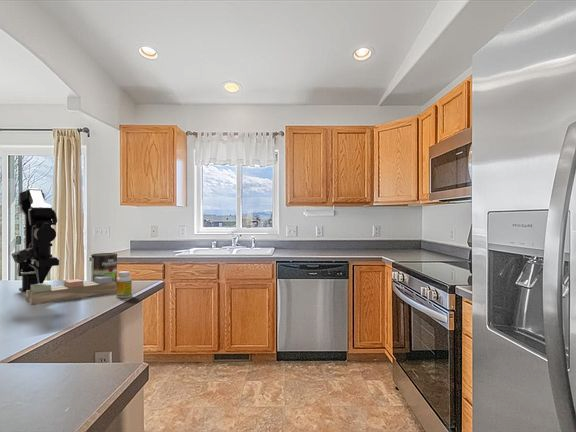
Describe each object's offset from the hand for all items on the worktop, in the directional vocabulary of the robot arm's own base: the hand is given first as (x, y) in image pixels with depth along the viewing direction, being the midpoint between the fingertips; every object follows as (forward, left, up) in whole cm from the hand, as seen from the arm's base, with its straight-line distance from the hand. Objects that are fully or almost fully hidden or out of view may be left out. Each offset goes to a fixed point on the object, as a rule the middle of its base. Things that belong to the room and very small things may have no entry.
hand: (40, 283), depth 132 cm
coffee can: (-11, +27, -7) cm, 30 cm away
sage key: (0, 0, -4) cm, 4 cm away
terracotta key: (0, +11, -5) cm, 12 cm away
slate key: (0, +22, -5) cm, 22 cm away
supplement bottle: (+14, +24, -7) cm, 29 cm away
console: (0, +11, -6) cm, 13 cm away
